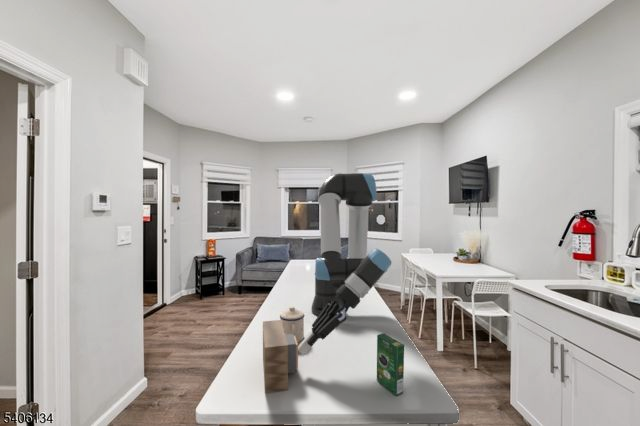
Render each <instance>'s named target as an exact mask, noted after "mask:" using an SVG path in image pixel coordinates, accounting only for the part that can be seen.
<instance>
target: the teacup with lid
mask: <svg viewBox="0 0 640 426" xmlns="http://www.w3.org/2000/svg"><path fill="white" fill-rule="evenodd" d="M304 313H305V312H303V311H302V310H298V309H296V307H295V306H289V309H286V310H284V311H281V313H280V314H279V318H280V319H279V320H282V324H283V328H284V332H285V334H293V336H295V337H296V340H297V343H300V342H302V341H303V340H304V339H305V335H304V334H305V333H304V332H305V327H304V326H305V325H304V324H305V320H304V319H305V318H304V317H305V314H304Z"/></svg>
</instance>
